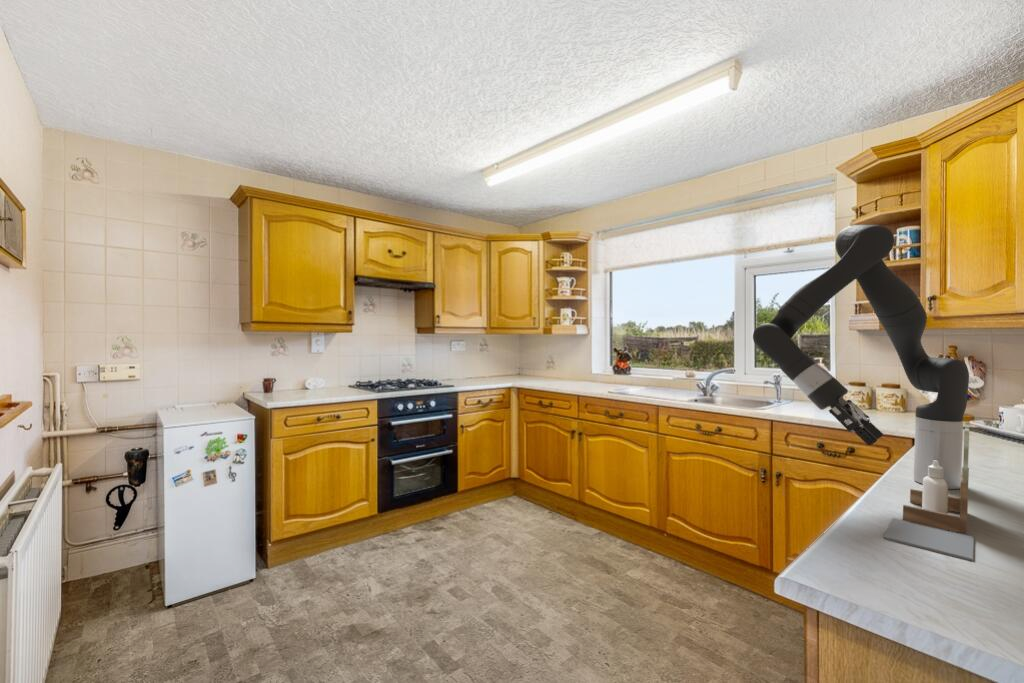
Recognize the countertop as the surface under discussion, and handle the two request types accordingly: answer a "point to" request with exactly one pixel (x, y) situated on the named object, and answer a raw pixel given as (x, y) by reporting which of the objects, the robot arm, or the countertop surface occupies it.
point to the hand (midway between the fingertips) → (876, 440)
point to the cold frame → (954, 503)
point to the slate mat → (931, 538)
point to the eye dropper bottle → (935, 490)
